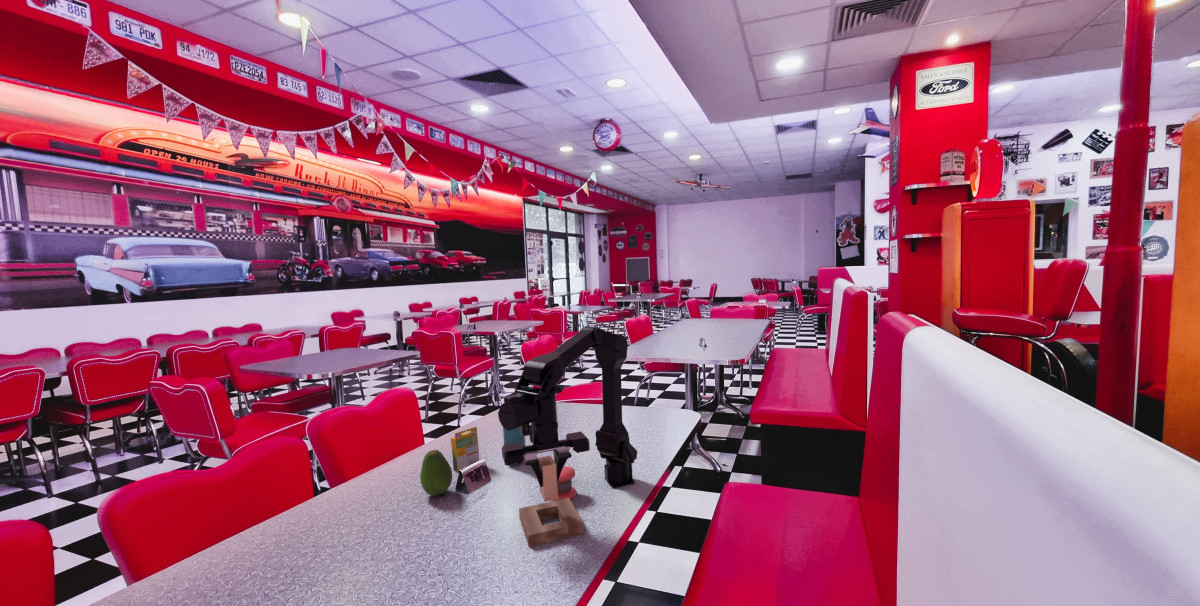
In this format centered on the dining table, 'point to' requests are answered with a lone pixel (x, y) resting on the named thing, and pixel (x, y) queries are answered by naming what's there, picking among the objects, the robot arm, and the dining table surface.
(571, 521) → the board with rectangular hole
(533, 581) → the dining table surface
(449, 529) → the dining table surface
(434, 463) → the avocado
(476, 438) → the crayon box
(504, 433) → the beverage bottle
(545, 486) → the reddish brown block
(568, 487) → the spool
